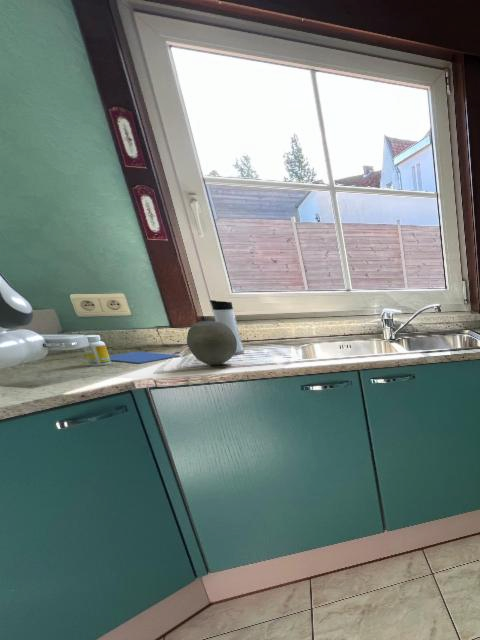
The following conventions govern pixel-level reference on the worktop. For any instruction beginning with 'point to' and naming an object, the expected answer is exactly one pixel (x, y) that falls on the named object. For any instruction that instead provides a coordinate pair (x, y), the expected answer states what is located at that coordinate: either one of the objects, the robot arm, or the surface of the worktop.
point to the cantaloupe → (211, 342)
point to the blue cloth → (140, 357)
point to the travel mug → (227, 320)
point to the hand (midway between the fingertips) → (61, 337)
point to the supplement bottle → (96, 351)
